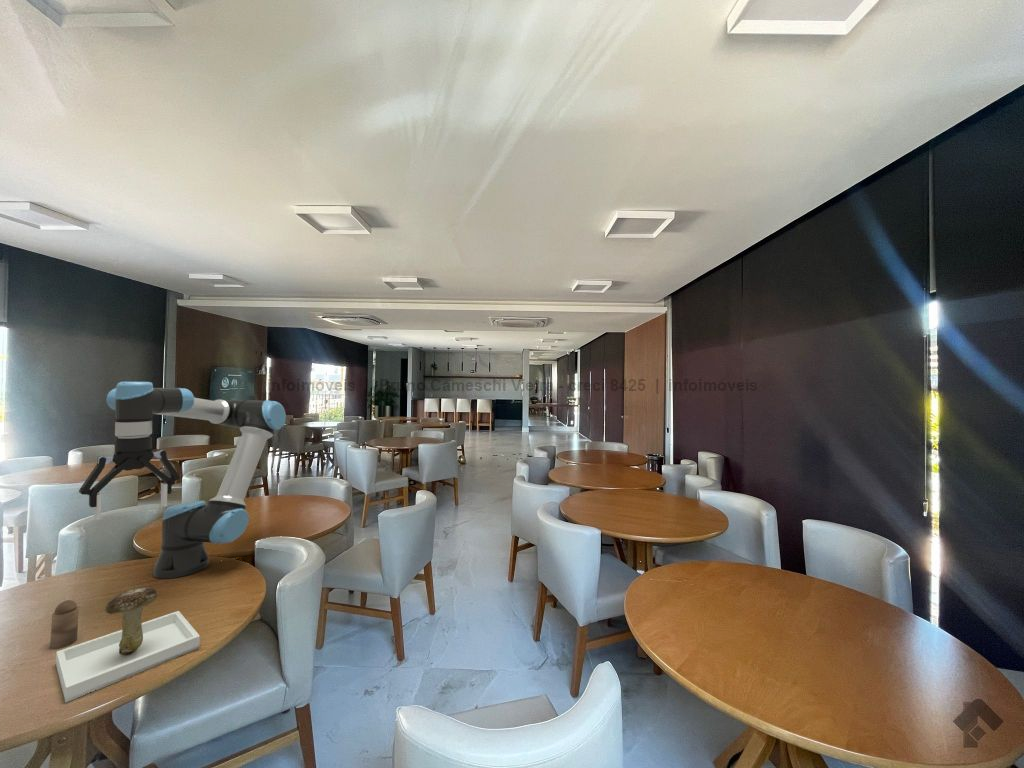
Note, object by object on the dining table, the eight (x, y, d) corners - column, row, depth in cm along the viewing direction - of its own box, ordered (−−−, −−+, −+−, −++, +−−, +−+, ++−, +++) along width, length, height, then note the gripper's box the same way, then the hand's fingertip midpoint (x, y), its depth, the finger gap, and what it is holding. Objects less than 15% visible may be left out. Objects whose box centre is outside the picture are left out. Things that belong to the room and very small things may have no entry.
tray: (178, 621, 107) (178, 610, 108) (199, 648, 97) (199, 635, 97) (55, 664, 90) (56, 651, 90) (65, 703, 79) (66, 687, 79)
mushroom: (115, 671, 87) (118, 603, 88) (93, 661, 90) (97, 595, 91) (164, 646, 96) (167, 584, 97) (143, 638, 99) (146, 578, 100)
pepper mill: (75, 635, 100) (78, 594, 101) (78, 642, 98) (80, 600, 98) (49, 644, 97) (51, 601, 97) (51, 651, 94) (53, 607, 95)
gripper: (184, 431, 122) (183, 498, 122) (64, 439, 101) (62, 521, 101) (193, 433, 118) (192, 503, 118) (70, 442, 97) (68, 527, 97)
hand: (132, 511), depth 109 cm, fingers open, 13 cm apart
